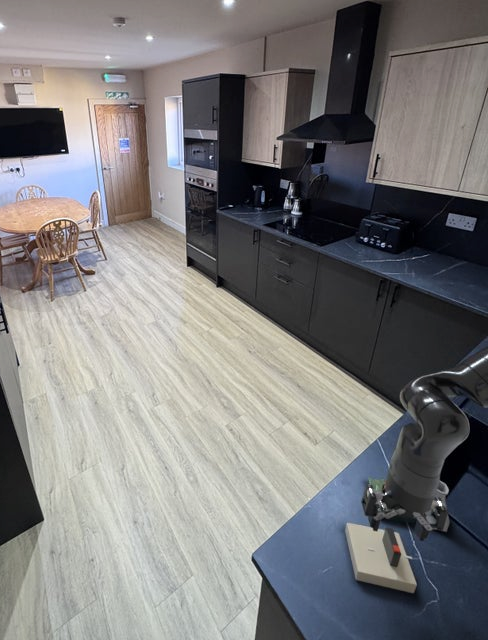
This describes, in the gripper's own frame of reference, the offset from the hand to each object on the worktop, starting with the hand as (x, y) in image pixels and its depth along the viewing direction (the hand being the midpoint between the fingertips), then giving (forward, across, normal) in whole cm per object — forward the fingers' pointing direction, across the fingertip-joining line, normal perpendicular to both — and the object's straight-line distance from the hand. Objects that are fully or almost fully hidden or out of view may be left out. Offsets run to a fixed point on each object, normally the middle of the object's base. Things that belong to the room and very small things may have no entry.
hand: (395, 531), depth 67 cm
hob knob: (+8, 0, 0) cm, 8 cm away
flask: (+11, +14, +12) cm, 21 cm away
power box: (+10, +5, +13) cm, 18 cm away
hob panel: (+11, -2, 0) cm, 11 cm away
